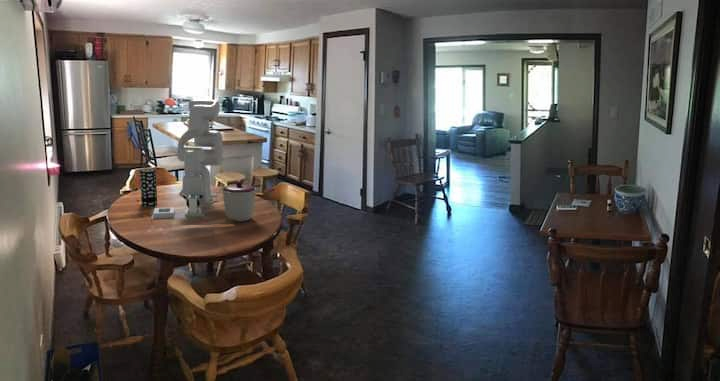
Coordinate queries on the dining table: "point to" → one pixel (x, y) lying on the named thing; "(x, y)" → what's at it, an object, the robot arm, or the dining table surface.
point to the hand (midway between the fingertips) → (193, 206)
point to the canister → (239, 201)
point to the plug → (192, 204)
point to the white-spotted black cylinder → (148, 187)
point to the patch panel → (175, 213)
